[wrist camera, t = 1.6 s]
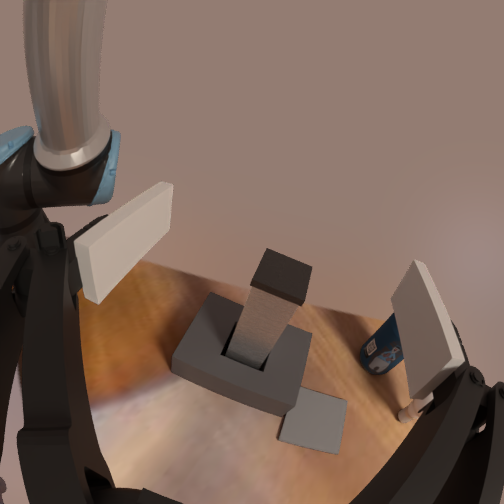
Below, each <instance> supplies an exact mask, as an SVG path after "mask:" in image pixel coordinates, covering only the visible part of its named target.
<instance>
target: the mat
mask: <svg viewBox="0 0 504 504" xmlns="http://www.w3.org/2000/svg"><path fill="white" fill-rule="evenodd" d="M346 408H347V401H346V400H342V399H339V398H335V397H332V396H329V395H325V394H322V393H319V392H316V391H312V390H309V389H306V388H303V387H300V390H299V394H298V398H297V402H296V405H295V407H294V408H293V409H291V410H290V411H289V412H287V413H286V415H285V418H284V422H283V425H282V429H281V432H280V435H279V438H278V440H279V441H282V442H286V443H290V444H293V445H297V446H301V447H305V448H309V449H313V450H317V451H322V452H327V453H332V454H339V449H340V444H341V438H342V433H343V427H344V421H345V415H346Z"/></svg>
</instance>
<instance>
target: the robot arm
mask: <svg viewBox="0 0 504 504" xmlns="http://www.w3.org/2000/svg"><path fill="white" fill-rule="evenodd" d="M106 7H107V0H23V34H24V48H25V58H26V67H27V75H28V82H29V88H30V93H31V99H32V103H33V109H34V113H35V117H36V122H37V126H38V130H39V132H38V134H37V136H33V135H34V131H33V128H32V127H30V126H21V127H18V128H14V129H12V130H9V131H7V132H5V133H2V134H0V462H1V457H2V452H3V443H4V434H5V425H6V417H7V411H8V405H9V399H10V394H11V389H12V384H13V379H14V375H15V371H16V367H17V363H18V359H19V355H20V352H21V348H22V345H23V353H22V398H23V414H24V427H23V428H22V429H21V430H20V431H18V434H17V448H18V455H19V461H20V466H21V471H22V475H23V480H24V485H25V489H26V492H27V496H28V500H29V503H30V504H183V503H181V502H178V501H175V500H172V499H170V498H167V497H164V496H162V495H159V494H157V493H154V492H152V491H150V490H147V489H145V488H143V489H142V490H138V489H131V488H116V487H115V484H114V482H113V479H112V476H111V473H110V471H109V468H108V466H107V463H106V461H105V460H104V458H103V456H102V453H101V451H100V448H99V444H98V440H97V437H96V433H95V429H94V424H93V420H92V415H91V410H90V405H89V400H88V395H87V389H86V382H85V376H84V368H83V360H82V351H81V340H80V326H79V301H78V295H77V292H78V291H79V290H80V289H81V288H82V287H83V292H84V296H85V298H86V299H88V300H90V301H92V302H94V303H96V304H98V305H99V304H100V303H101V301H102V300H103V299H104V298H105V297H106V296H107V295H108V294H109V293H110V291H111V290H112V289H113V288H114V287H115V286H116V285H117V284H118V283H119V282H120V280H121V279H122V278H123V277H124V276H125V275H126V274H127V273H128V272H129V271H130V270H131V269H132V268H133V267H134V266H135V265H136V263H137V262H138V261H139V260H140V259H141V258H142V257H143V256H144V255H145V254H146V253H147V252H148V251H149V250H150V249H151V248H152V247H153V246H154V245H155V244H156V243H157V242H158V241H159V240H160V239H161V238H162V237H163V236H164V235H165V234H166V233H167V232H168V231H169V230H170V219H171V206H172V195H173V184H170V183H166V182H162V181H161V182H159V183H157V184H156V185H154V186H153V187H151V188H149V189H148V190H146V191H145V192H143V193H142V194H140V195H138V196H137V197H135V198H134V199H132V200H131V201H129V202H128V203H126V204H125V205H123V206H122V207H120V208H119V209H117V210H116V211H115V212H113V213H112V214H110V215H104V216H101V217H98V218H96V219H95V220H93V221H92V222H90V223H89V224H88V225H86V226H85V227H83V229H80V230H79V231H78V232H76V233H75V234H74V235H72V236H71V237H70V238H68V239H67V240H66V238H65V231H64V226H63V225H62V224H61V223H57V222H50V221H49V219H48V218H47V216H46V214H45V213H44V211H43V209H42V208H46V207H61V206H82V205H87V206H92V205H96V204H105V203H107V202H109V201H110V200H111V198H112V195H113V191H114V184H115V176H116V167H117V161H118V154H119V147H120V138H121V135H120V133H119V132H118V131H114V130H110V125H109V122H108V120H107V118H106V117H105V116H104V115H103V114H101V113H100V112H99V81H100V60H101V47H102V36H103V28H104V20H105V13H106ZM12 285H13V287H14V288H13V290H12ZM391 301H392V305H393V309H394V313H395V318H396V322H397V326H398V331H399V336H400V341H401V346H402V351H403V356H404V362H405V367H406V374H407V380H408V387H409V394H410V398H411V399H420V400H423V399H425V398H426V397H427V396H428V395H429V394H431V393H433V398H434V399H432V400H431V401H430V402H429V403H428V404H426V405H425V406H424V407H423V408H421V409H420V410H419V411H418V412H417V413H420V412H422V411H423V412H422V414H421V416H420V417H419V419H418V420H417V422H416V423H415V425H414V426H413V428H412V429H411V431H410V432H409V434H408V435H407V436H406V438H405V439H404V441H403V442H402V443H401V445H400V446H399V447H398V449H397V450H396V451H395V453H394V454H393V455H392V457H391V458H390V459H389V460H388V462H387V463H386V464H385V465H384V466H383V468H382V469H381V470H380V471H379V472H378V473H377V475H376V476H375V477H374V478H373V479H372V480H371V481H370V483H369V484H368V485H367V486H366V487H365V488H364V489H363V490H362V491H361V492H360V493H359V494H358V495H357V496H356V497H355V498H354V499H353V500H352V501H351V502H350V503H349V504H499V503H500V500H501V495H502V491H503V486H504V383H503V382H498V383H496V384H495V385H494V386H493V387H492V388H491V387H489V386H487V385H485V380H484V377H483V375H482V373H481V372H480V371H479V370H478V369H477V368H476V367H473V366H470V364H469V361H468V358H467V355H466V352H465V349H464V346H463V345H462V341H461V338H459V337H460V336H459V333H458V331H457V328H456V327H455V325H454V324H453V322H452V321H451V320H450V318H449V315H448V313H447V311H446V308H445V306H444V304H443V301H442V299H441V297H440V294H439V292H438V290H437V288H436V286H435V284H434V281H433V279H432V277H431V275H430V273H429V271H428V269H427V267H426V265H425V263H422V262H419V261H416V260H413V262H412V264H411V265H410V267H409V269H408V271H407V272H406V274H405V276H404V277H403V279H402V281H401V282H400V284H399V286H398V287H397V289H396V291H395V292H394V294H393V296H392V297H391ZM485 423H486V426H485V429H484V430H483V431H481V432H479V428H480V427H481V426H482V425H484V424H485ZM5 491H6V484H5V481H4V480H3V479H2V478H1V477H0V504H4V503H3V499H2V493H4V492H5Z"/></svg>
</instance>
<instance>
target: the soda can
mask: <svg viewBox="0 0 504 504" xmlns="http://www.w3.org/2000/svg"><path fill="white" fill-rule="evenodd" d="M403 359H404V356H403V351H402V346H401V341H400V336H399V331H398V326H397V322H396V318H395V313H393V314H392V315H391V316H390V317H389V319H387V321H386V322H385V323H384V324H383V325H382V326H381V327H380V328H379V329H378V330H377V331H376V332H375V333H374V334H373V335H372V336H371V337H370V338H369V339H368V341H367V342H366V343H365V344H364V345H363V346H362V348H361V352H360V361H361V364H362V366H363V368H364V369H365V370H366V371H368V372H369V373H371V374H377V375H381V374H385V373H387V372H388V371H390V370H391V369H392V368H393V367H395V366H396V365H397V364H398V363H399V362H401V361H402V360H403Z"/></svg>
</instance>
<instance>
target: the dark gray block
mask: <svg viewBox="0 0 504 504" xmlns="http://www.w3.org/2000/svg"><path fill="white" fill-rule="evenodd" d="M243 308H244V306H242V305H240V304H238V303H235V302H233V301H231V300H228V299H226V298H224V297H221V296H219V295H217V294H215V293H212V292H210V293H209V295H208V297H207V298H206V300H205V302H204V303H203V305H202V307H201V308H200V310H199V312H198V313H197V315H196V317H195V318H194V320H193V322H192V323H191V325H190V327H189V328H188V330H187V332H186V333H185V335H184V337H183V338H182V340H181V342H180V343H179V345H178V347H177V348H176V350H175V352H174V353H173V355H172V368H171V372H172V373H174V374H176V375H178V376H180V377H182V378H184V379H186V380H189V381H191V382H193V383H195V384H197V385H199V386H202V387H204V388H206V389H208V390H211V391H213V392H215V393H218V394H220V395H222V396H225V397H227V398H230V399H232V400H235V401H237V402H240V403H242V404H245V405H248V406H250V407H253V408H256V409H259V410H262V411H264V412H267V413H270V414H273V415H276V416H279V417H282V416H283V415H285V414H286V413H287V412H289V411H290V410H291V409H293V408H294V407H295V405H296V402H297V398H298V394H299V390H300V386H301V382H302V378H303V373H304V369H305V365H306V361H307V356H308V352H309V347H310V342H311V337H312V333H309V332H307V331H304V330H302V329H299V328H296V327H294V326H291V325H289V324H287V326H286V327H285V329H284V331H283V332H282V334H281V335H280V337H279V339H278V340H277V342H276V343H275V345H274V346H273V348H272V350H271V351H270V353H269V354H268V356H267V357H266V359H265V360H264V362H263V363H262V365H261V366H260V369H259V370H256V369H254V368H251V367H249V366H246V365H244V364H241V363H239V362H237V361H234V360H232V359H229V358H227V357H225V356H222V353H223V351H224V349H225V347H226V345H227V342H228V340H231V339H232V337H233V334H234V332H235V329H236V326H237V324H238V321H239V319H240V316H241V314H242V311H243Z"/></svg>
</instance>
